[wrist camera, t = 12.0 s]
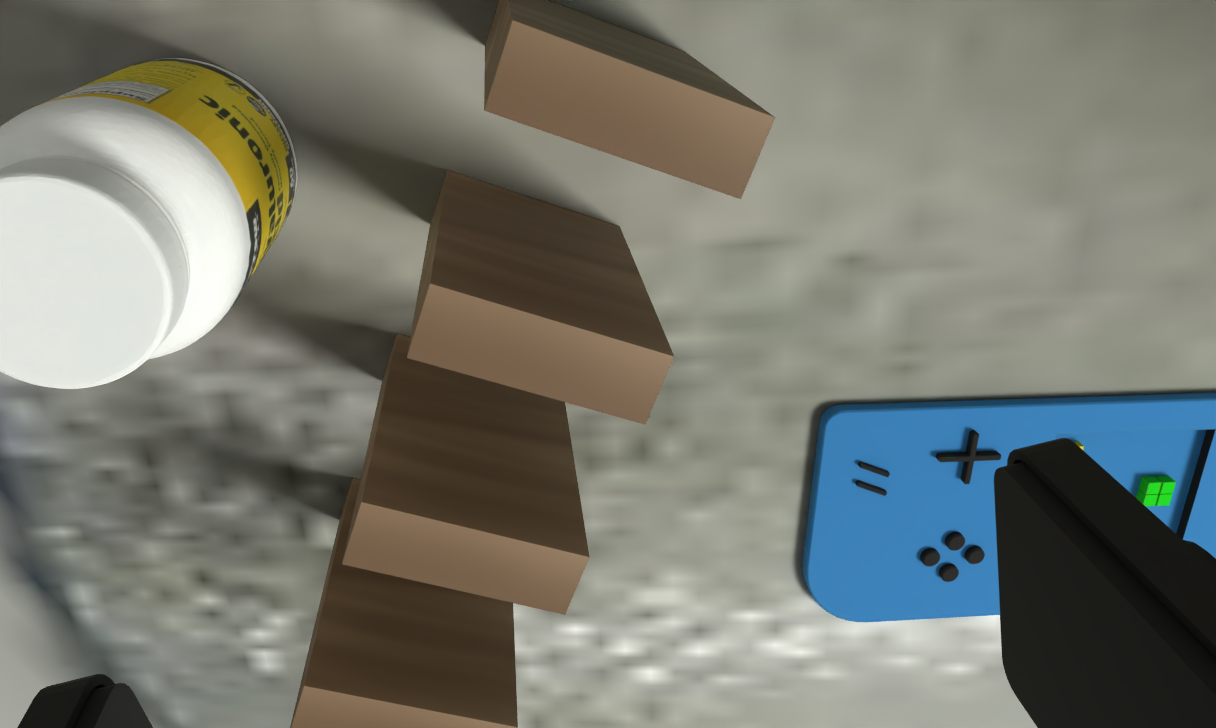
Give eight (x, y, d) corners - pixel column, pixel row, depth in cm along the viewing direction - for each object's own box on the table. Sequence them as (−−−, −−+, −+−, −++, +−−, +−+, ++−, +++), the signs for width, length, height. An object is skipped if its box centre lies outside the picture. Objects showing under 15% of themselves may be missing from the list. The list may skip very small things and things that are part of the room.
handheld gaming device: (828, 415, 31) (1280, 400, 32) (817, 400, 32) (1256, 386, 33) (801, 632, 34) (1211, 609, 36) (792, 612, 35) (1191, 590, 37)
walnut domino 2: (447, 170, 27) (430, 283, 19) (619, 226, 28) (674, 356, 20) (430, 224, 27) (406, 357, 19) (600, 277, 29) (645, 424, 21)
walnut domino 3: (397, 333, 29) (361, 502, 21) (561, 380, 30) (589, 557, 22) (382, 381, 29) (342, 564, 21) (544, 425, 30) (564, 614, 22)
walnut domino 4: (353, 477, 30) (304, 685, 22) (509, 516, 32) (517, 727, 24) (339, 520, 31) (287, 738, 23) (494, 556, 32) (497, 776, 24)
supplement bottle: (321, 248, 27) (242, 410, 19) (118, 269, 27) (-62, 445, 18) (278, 42, 25) (165, 116, 16) (56, 62, 25) (-184, 150, 16)
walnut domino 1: (504, -17, 25) (512, 20, 17) (685, 52, 26) (775, 117, 18) (485, 45, 26) (483, 110, 18) (663, 110, 27) (740, 199, 19)
